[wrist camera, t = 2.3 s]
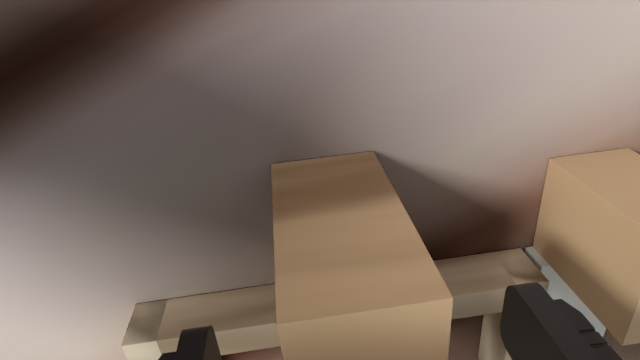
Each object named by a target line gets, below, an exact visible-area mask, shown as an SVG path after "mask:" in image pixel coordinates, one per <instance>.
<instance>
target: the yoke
mask: <svg viewBox="0 0 640 360" xmlns="http://www.w3.org/2000/svg"><path fill="white" fill-rule="evenodd" d="M271 180H272V209H273V238H274V266H275V284H270V285H264V286H257V287H250V288H243V289H236V290H229V291H222V292H215V293H209V294H202V295H195V296H188V297H181V298H174V299H167V300H160V301H154V302H147V303H140V304H136V305H135V308H134V311H133V314H132V317H131V319H130V322H129V325H128V328H127V331H126V333H125V336H124V339H123V342H122V345H121V348H122V350H123V352H124V354H125V356H126V359H127V360H158V359H159V358H160V356H161V355H162V354H163V353H169V352H176V350H177V346H178V342H179V338H180V334H181V331H182V330H183V329H189V328H196V327H204V326H212V327H213V329H214V332H215V336H216V339H217V343H218V346H219V350H220V354H221V355H226V354H233V353H239V352H246V351H252V350H259V349H265V348H272V347H278V346H281V351H282V356H283V360H448V353H449V341H450V330H451V320H453V319H460V318H466V317H473V316H479V315H484V316H483V323H482V331H481V338H480V345H479V353H478V360H512V359H511V357H510V355H509V353H508V352H507V350H506V348H505V346H504V344H503V341H502V338H501V333H500V321H501V315H502V309H503V303H504V297H505V291H506V288H507V287H508V286H510V285H517V284H524V283H532V282H537V283H539V284H540V285H541V286H542V287H543V288H544V289H545V290H546V291H547V290H548V285H549V281H548V279H547V278H546V277H545V276H544V275H543V273H542V272H541V271H540V270H539V269H538V268H537V266H536V265H535V264H534V263H533V262H532V261H531V259H530V258H529V257H528V256H527V255H526V254H525V252H524V251H523V250H522V249H521V248H518V249H511V250H504V251H497V252H490V253H483V254H477V255H470V256H463V257H456V258H449V259H442V260H435V261H433V260H432V258H431V256H430V254H429V252H428V250H427V249H426V247H425V245H424V243H423V241H422V239H421V237H420V236H419V234H418V232H417V230H416V228H415V226H414V225H413V223H412V221H411V219H410V217H409V215H408V213H407V212H406V210H405V208H404V206H403V204H402V202H401V200H400V199H399V197H398V195H397V193H396V191H395V189H394V188H393V186H392V184H391V182H390V180H389V178H388V176H387V175H386V173H385V171H384V169H383V167H382V165H381V164H380V162H379V160H378V158H377V156H376V154H375V152H374V151H369V152H361V153H354V154H346V155H338V156H330V157H322V158H315V159H307V160H299V161H291V162H284V163H276V164H271Z"/></svg>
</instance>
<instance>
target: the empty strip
mask: <svg viewBox="0 0 640 360" xmlns="http://www.w3.org/2000/svg"><path fill="white" fill-rule="evenodd" d="M525 254H526V255H527V256H528V257H529V258H530V259H531V261H532V262H533V263H534V264H535V265H536V266H537V268H538V269H539V270H540V271H541V272H542V273H543V275H544V276H545V277H546V278H547V279H548V281H549V285H548V290H547V293H548V294H549V295H550V296H551V298H552V299H553V300H556V299H562V300H564V301H565V302H567V303H568V304H570V305H571V306H573V307H574V308H576V309H577V310H579V311H580V312H581V313H582V314H583V315H584V316H585V317H586V318H587V320H588V321H589V322H590V323H591V324H592V325H593V327H594V328H595V331H596V332H599V334H600V335H601V336H602V337H603V336H604V333H605V330H606V329H607V330H608V331H609V332H610V333H611V334H612V335H613V336H614V337H615V339H616V340H617V341H618V342H619V343H620V344H621V345H622V346H625V345H631V344H637V343H640V154H638V153H636V152H635V151H633V150H631V149H629V148H623V149H616V150H608V151H601V152H593V153H586V154H578V155H571V156H563V157H556V158H550V159H549V164H548V169H547V174H546V179H545V185H544V190H543V195H542V200H541V205H540V210H539V216H538V221H537V226H536V231H535V236H534V242H533V246H532V247H525Z"/></svg>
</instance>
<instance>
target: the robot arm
mask: <svg viewBox="0 0 640 360" xmlns="http://www.w3.org/2000/svg"><path fill="white" fill-rule="evenodd" d="M500 333H501V338H502V341H503V344H504V346H505V348H506V350H507V352H508V353H509V355H510V357H511V359H512V360H622V359H621V358H620V357H619V356H618V354H617V353H616V352H615V351H614V350H613V349H612V348H611V346H608V345H607V342H606V341H605V339H604V338H603V337H602V336H601V335H600V334H599V332H596V331H595V328H594V327H593V325H592V324H591V323H590V322H589V321H588V320H587V318H586V317H585V316H584V315H583V314H582V313H581V312H580V311H579V310H577V309H576V308H574V307H573V306H571V305H570V304H568V303H567V302H565V301H564V300H562V299H556V300H553V299H552V298H551V296H550V295H549V294H548V293H547V291H546V290H545V289H544V288H543V287H542V286H541V285H540V284H539V283H537V282H532V283H524V284H517V285H510V286H508V287H507V288H506V291H505V297H504V303H503V309H502V315H501V321H500ZM158 360H222V357H221V354H220V350H219V346H218V343H217V339H216V336H215V332H214V329H213V327H212V326H204V327H196V328H189V329H183V330H182V331H181V334H180V338H179V342H178V346H177V350H176V352H169V353H163V354H162V355H161V356H160V358H159V359H158Z"/></svg>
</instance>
